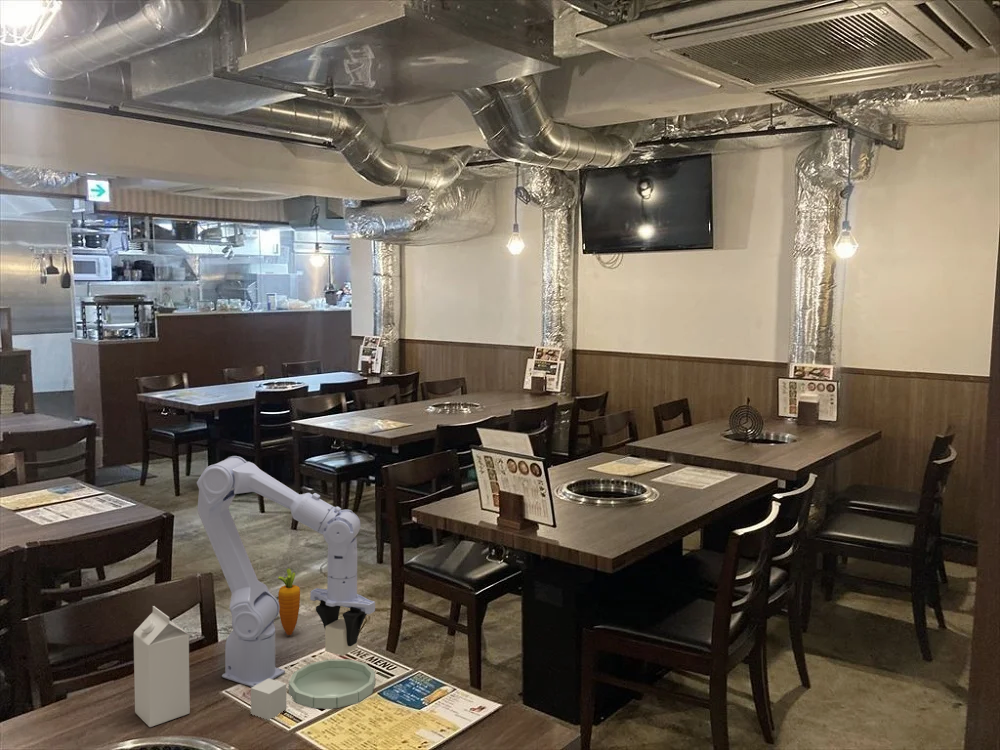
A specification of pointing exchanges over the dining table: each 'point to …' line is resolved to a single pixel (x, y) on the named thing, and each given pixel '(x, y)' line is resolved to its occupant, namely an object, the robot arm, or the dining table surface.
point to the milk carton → (161, 670)
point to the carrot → (289, 603)
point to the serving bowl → (332, 683)
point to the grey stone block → (268, 699)
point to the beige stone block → (337, 638)
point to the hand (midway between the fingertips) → (342, 641)
